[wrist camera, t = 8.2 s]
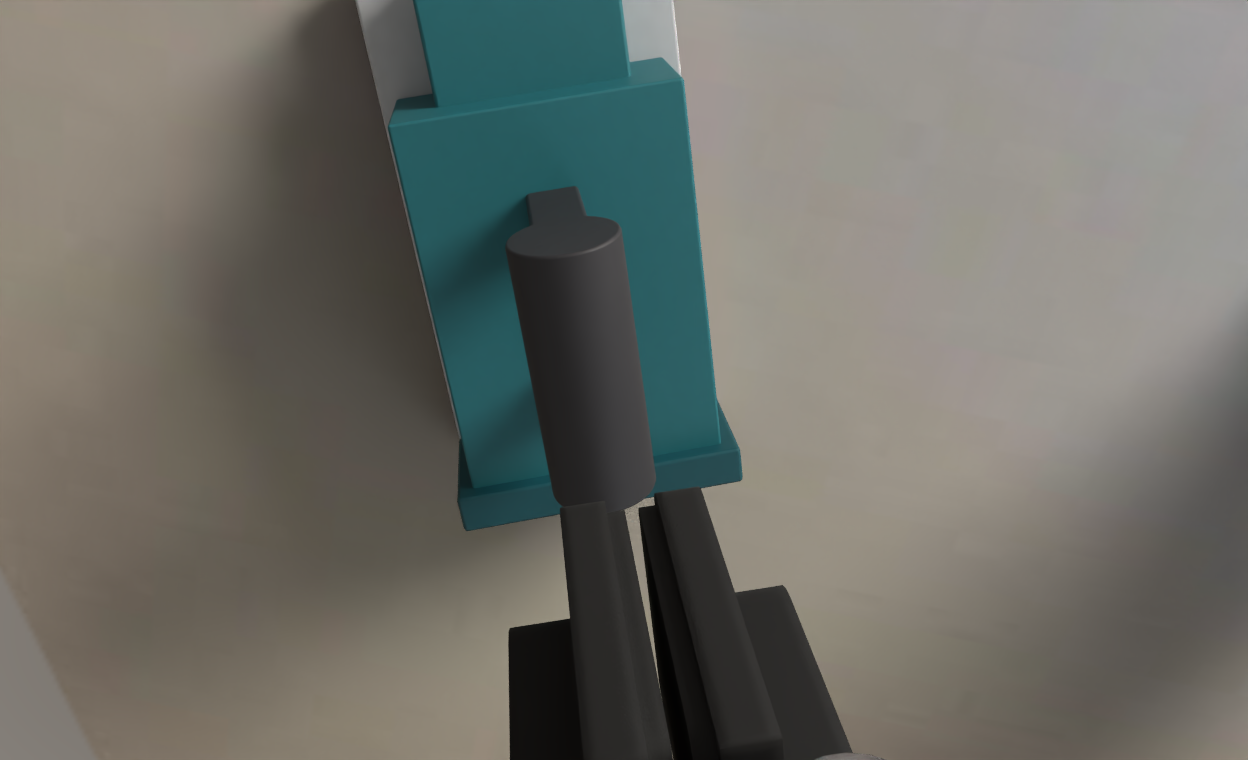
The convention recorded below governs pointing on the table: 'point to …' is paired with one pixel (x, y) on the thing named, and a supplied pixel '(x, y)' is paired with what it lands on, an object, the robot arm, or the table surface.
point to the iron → (555, 246)
